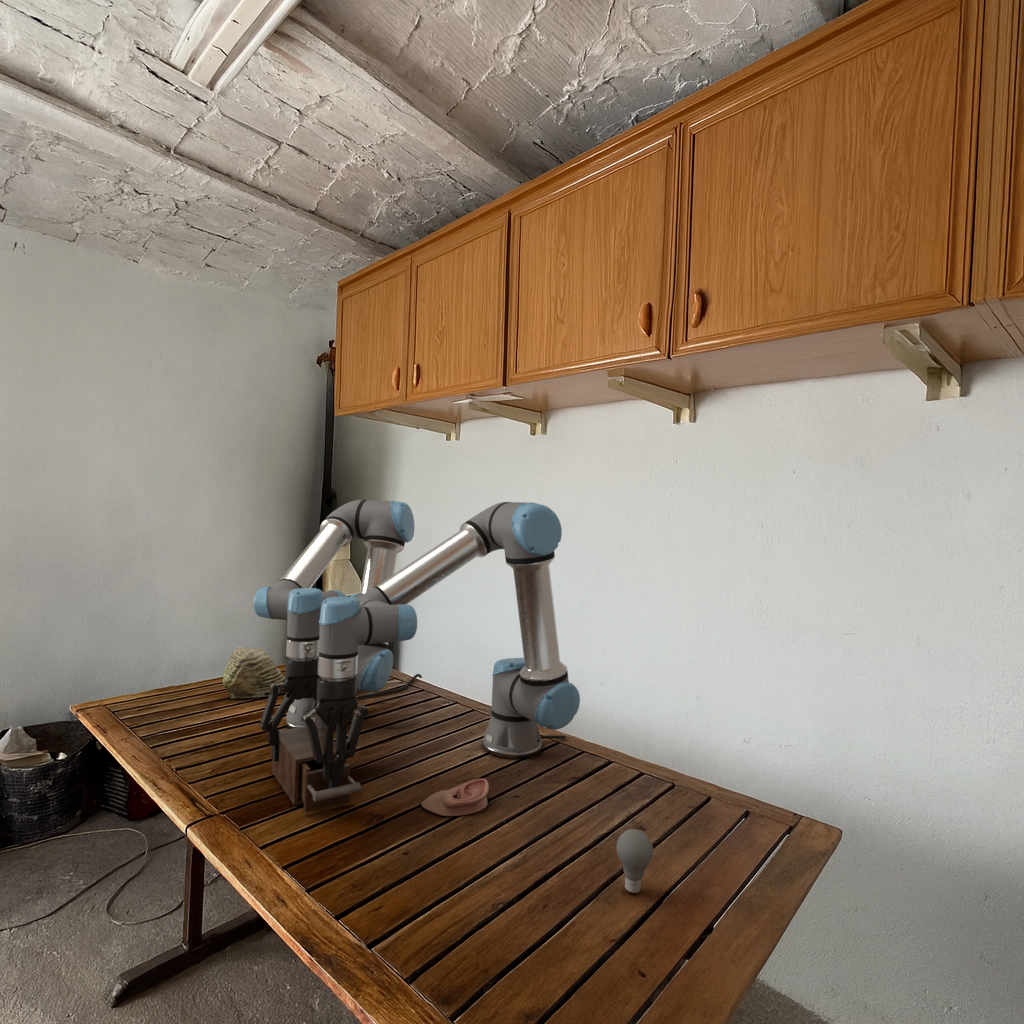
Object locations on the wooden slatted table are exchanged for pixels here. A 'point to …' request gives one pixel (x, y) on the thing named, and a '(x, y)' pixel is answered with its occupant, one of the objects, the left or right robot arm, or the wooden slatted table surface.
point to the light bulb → (634, 857)
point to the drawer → (323, 787)
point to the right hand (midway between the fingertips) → (332, 794)
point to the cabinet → (294, 758)
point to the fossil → (250, 673)
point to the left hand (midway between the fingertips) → (299, 754)
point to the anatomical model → (459, 799)
